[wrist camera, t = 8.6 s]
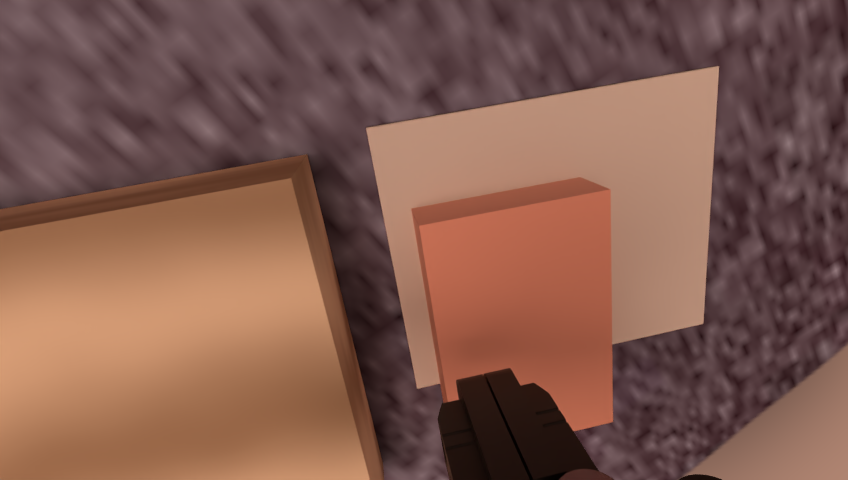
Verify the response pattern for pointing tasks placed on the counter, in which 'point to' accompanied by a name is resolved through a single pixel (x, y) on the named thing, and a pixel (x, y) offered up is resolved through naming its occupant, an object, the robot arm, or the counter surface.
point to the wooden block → (180, 335)
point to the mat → (560, 160)
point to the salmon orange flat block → (524, 291)
